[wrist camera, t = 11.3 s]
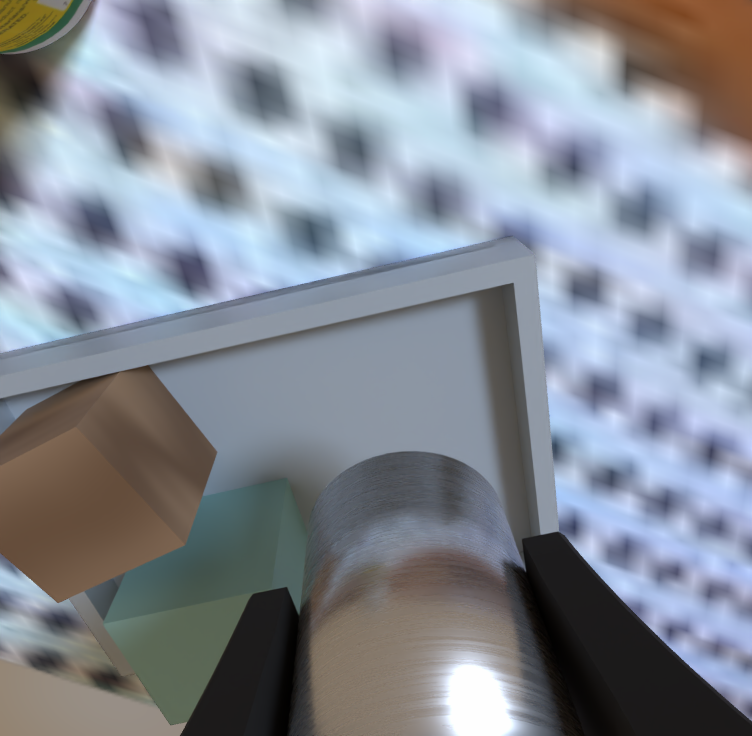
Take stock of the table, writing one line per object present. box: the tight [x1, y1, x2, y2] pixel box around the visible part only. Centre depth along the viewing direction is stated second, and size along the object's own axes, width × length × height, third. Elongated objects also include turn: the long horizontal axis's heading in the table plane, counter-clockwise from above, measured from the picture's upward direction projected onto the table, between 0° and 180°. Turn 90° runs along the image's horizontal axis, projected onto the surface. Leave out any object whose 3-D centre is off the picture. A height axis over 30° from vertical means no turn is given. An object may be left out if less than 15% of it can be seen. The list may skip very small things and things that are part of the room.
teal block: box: [103, 478, 308, 725], centre depth 17 cm, size 4×4×4 cm
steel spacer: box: [287, 451, 585, 736], centre depth 9 cm, size 4×4×5 cm
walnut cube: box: [0, 365, 217, 603], centre depth 15 cm, size 4×4×4 cm
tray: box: [0, 236, 559, 677], centre depth 18 cm, size 12×16×2 cm
